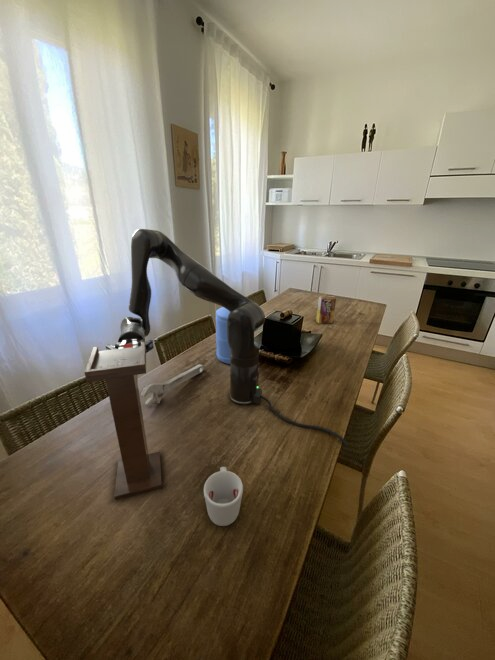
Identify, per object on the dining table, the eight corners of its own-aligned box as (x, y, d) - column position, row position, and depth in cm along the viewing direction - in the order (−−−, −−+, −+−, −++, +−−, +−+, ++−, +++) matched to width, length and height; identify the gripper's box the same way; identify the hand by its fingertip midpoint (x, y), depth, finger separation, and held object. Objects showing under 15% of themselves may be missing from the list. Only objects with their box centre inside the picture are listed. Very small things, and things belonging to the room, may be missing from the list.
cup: (206, 485, 66) (205, 460, 63) (240, 483, 66) (240, 458, 63) (203, 533, 56) (202, 507, 53) (243, 531, 57) (244, 504, 53)
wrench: (203, 376, 112) (144, 412, 87) (200, 375, 113) (140, 410, 88) (204, 358, 110) (144, 389, 85) (200, 357, 111) (139, 387, 85)
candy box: (329, 320, 166) (333, 295, 160) (332, 323, 162) (336, 297, 156) (315, 320, 165) (318, 296, 159) (318, 323, 161) (321, 298, 155)
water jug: (209, 360, 119) (208, 297, 108) (226, 345, 132) (226, 287, 121) (243, 368, 114) (245, 303, 103) (257, 352, 127) (259, 292, 116)
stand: (118, 463, 70) (93, 347, 57) (159, 454, 74) (145, 341, 60) (114, 499, 62) (84, 372, 49) (161, 487, 65) (145, 364, 52)
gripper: (106, 330, 87) (95, 346, 71) (153, 325, 91) (153, 340, 75) (110, 352, 89) (100, 374, 73) (156, 347, 93) (156, 366, 77)
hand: (127, 357), depth 74 cm, fingers closed on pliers, 2 cm apart
